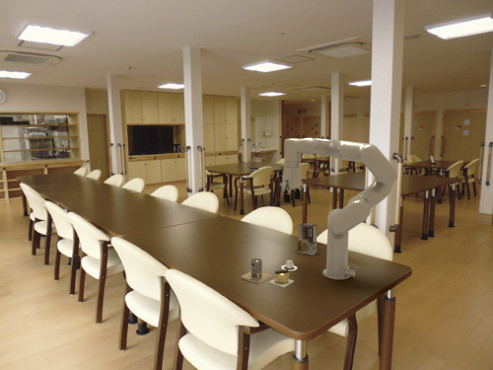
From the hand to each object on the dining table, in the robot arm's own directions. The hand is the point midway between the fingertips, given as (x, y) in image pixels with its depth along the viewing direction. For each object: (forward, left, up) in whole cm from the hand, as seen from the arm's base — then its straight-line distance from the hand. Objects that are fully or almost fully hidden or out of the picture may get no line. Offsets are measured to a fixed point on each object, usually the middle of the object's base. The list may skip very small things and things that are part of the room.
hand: (292, 200), depth 167 cm
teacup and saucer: (+1, -5, -35) cm, 36 cm away
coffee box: (+8, -29, -35) cm, 46 cm away
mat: (-4, +14, -35) cm, 38 cm away
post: (+8, +17, -35) cm, 40 cm away
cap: (-4, +14, -34) cm, 37 cm away
